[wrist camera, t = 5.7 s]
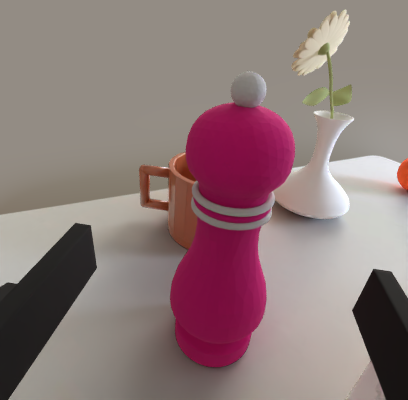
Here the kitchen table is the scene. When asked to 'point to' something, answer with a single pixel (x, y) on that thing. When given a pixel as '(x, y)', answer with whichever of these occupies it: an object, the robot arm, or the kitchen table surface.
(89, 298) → the kitchen table surface
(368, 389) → the jar
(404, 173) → the clementine
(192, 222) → the terracotta coffee mug
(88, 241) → the robot arm
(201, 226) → the pepper mill
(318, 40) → the flower in vase
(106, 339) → the kitchen table surface
